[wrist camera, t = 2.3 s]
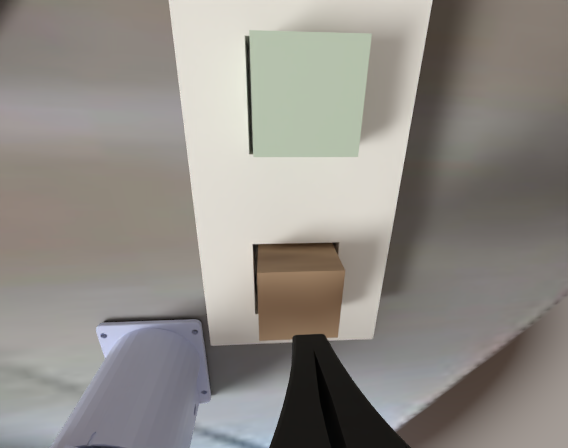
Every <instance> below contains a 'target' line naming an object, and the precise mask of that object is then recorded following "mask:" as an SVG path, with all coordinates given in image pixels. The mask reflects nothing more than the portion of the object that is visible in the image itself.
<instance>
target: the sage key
mask: <svg viewBox="0 0 568 448" xmlns="http://www.w3.org/2000/svg"><path fill="white" fill-rule="evenodd" d="M371 37H372V34H370V33H334V32H298V31H261V30H249V38H250V70H251V101H252V132H253V157H358V153H359V144H360V135H361V126H362V117H363V108H364V99H365V90H366V82H367V73H368V64H369V55H370V46H371Z"/></svg>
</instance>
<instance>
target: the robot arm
mask: <svg viewBox="0 0 568 448" xmlns="http://www.w3.org/2000/svg"><path fill="white" fill-rule="evenodd" d="M194 330H197V331H194ZM96 332H97V335H98V339H99V342H100V345H101V348H102V351H103V354H104V357H105V360H104V361H103V363H102V364H101V366H100V368H99V369H98V371H97V372H96V374H95V376H94V377H93V379H92V381H91V382H90V384H89V385H88V387H87V389H86V390H85V392H84V393H83V395H82V397H81V398H80V400H79V401H78V403H77V405H76V406H75V408H74V410H73V411H72V413H71V414H70V416H69V418H68V419H67V421H66V422H65V424H64V426H63V427H62V429H61V430H60V432H59V434H58V435H57V437H56V439H55V440H54V442H53V443H52V445H51V447H50V448H190V444H191V439H192V434H193V430H194V425H195V420H196V416H197V411H198V406H199V404H200V403H208V402H210V400H211V390H210V383H209V375H208V368H207V360H206V353H205V345H204V338H203V330H202V323H201V322H200V321H199V320H197V319H187V320H160V321H133V322H106V323H100V324H99V325H98V326H97V328H96ZM104 333H105V334H104ZM106 334H107V335H106ZM269 448H411V447H410V446H409V445H408V444H406V443H405V441H404V440H403V439H402V438H401V437H400V436H399V435H398V434H397V433H396V432H395V431H394V430H393V429H392V428H391V427H390V426H389V425H388V423H387V422H386V421H385V420H384V419H383V418H382V417H381V415H380V414H379V413H378V412H377V411H376V410H375V408H374V407H373V406H372V405H371V404H370V402H369V401H368V400H367V399H366V397H365V396H364V395H363V393H362V392H361V391H360V389H359V388H358V387H357V385H356V384H355V383H354V381H353V380H352V378H351V377H350V375H349V374H348V372H347V371H346V369H345V368H344V367H343V365H342V363H341V362H340V360H339V359H338V357H337V355H336V354H335V352H334V350H333V349H332V347H331V345H330V343H329V342H328V340H327V338H326V336H325V335H324V334H306V335H295V336H293V337H292V366H291V372H290V378H289V383H288V387H287V392H286V396H285V400H284V404H283V407H282V411H281V414H280V418H279V421H278V424H277V427H276V430H275V433H274V436H273V439H272V442H271V444H270V447H269Z"/></svg>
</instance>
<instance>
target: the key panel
mask: <svg viewBox="0 0 568 448" xmlns="http://www.w3.org/2000/svg"><path fill="white" fill-rule="evenodd" d="M432 1H433V0H169V6H170V14H171V23H172V31H173V39H174V47H175V56H176V64H177V72H178V80H179V88H180V97H181V105H182V113H183V121H184V129H185V138H186V146H187V154H188V162H189V170H190V179H191V187H192V195H193V203H194V211H195V220H196V228H197V236H198V244H199V252H200V261H201V269H202V277H203V285H204V294H205V302H206V310H207V318H208V326H209V335H210V343H211V346H219V345H242V344H265V343H288V342H292V339H291V340H268V341H259V320H258V288H257V260H258V244H285V243H332V244H333V246H334V248H335V250H336V252H337V254H338V256H339V258H340V260H341V263H342V265H343V267H344V269H345V278H344V287H343V296H342V305H341V314H340V323H339V332H338V338H327V340H328V341H334V340H357V339H373V335H374V330H375V324H376V318H377V313H378V307H379V301H380V296H381V290H382V284H383V279H384V273H385V267H386V262H387V256H388V250H389V245H390V239H391V233H392V228H393V222H394V216H395V211H396V205H397V199H398V194H399V188H400V182H401V176H402V171H403V165H404V159H405V154H406V148H407V142H408V137H409V131H410V125H411V120H412V114H413V108H414V103H415V97H416V91H417V86H418V80H419V74H420V69H421V63H422V57H423V52H424V46H425V40H426V35H427V29H428V23H429V18H430V12H431V6H432ZM249 30H261V31H298V32H334V33H370V34H372V37H371V46H370V55H369V64H368V73H367V82H366V90H365V99H364V108H363V117H362V126H361V135H360V144H359V153H358V157H253V132H252V101H251V70H250V38H249Z"/></svg>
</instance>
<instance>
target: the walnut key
mask: <svg viewBox="0 0 568 448" xmlns="http://www.w3.org/2000/svg"><path fill="white" fill-rule="evenodd" d="M344 278H345V269H344V267H343V265H342V263H341V260H340V258H339V256H338V254H337V252H336V250H335V248H334V246H333V244H332V243H285V244H258V260H257V288H258V320H259V341H268V340H291V339H292V337H293V336H295V335H306V334H324V335H325V336H326V338H338V332H339V323H340V314H341V305H342V296H343V287H344Z"/></svg>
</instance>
